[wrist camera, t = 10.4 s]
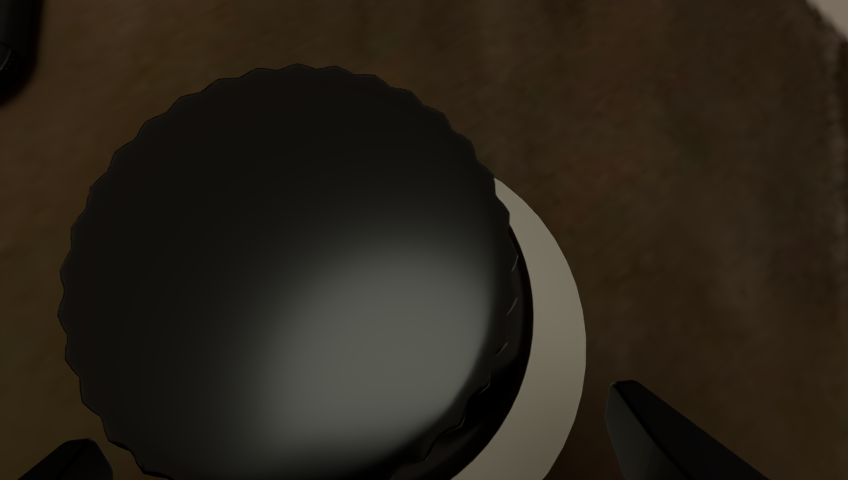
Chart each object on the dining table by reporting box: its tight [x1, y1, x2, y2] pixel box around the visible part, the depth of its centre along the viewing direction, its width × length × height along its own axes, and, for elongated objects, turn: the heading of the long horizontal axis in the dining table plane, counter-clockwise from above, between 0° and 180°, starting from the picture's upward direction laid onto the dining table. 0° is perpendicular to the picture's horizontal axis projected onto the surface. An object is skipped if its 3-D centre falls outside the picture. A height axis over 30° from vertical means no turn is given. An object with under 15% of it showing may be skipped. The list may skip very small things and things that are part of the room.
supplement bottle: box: [57, 64, 534, 480], centre depth 11 cm, size 7×7×12 cm
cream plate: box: [451, 178, 586, 480], centre depth 17 cm, size 14×14×1 cm
